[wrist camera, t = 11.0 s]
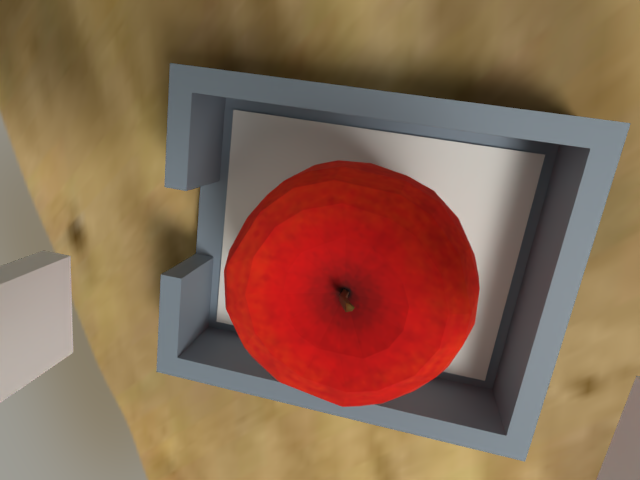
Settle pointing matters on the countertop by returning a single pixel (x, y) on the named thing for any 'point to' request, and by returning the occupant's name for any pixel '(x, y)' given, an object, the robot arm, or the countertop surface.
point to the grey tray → (428, 169)
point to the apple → (352, 283)
